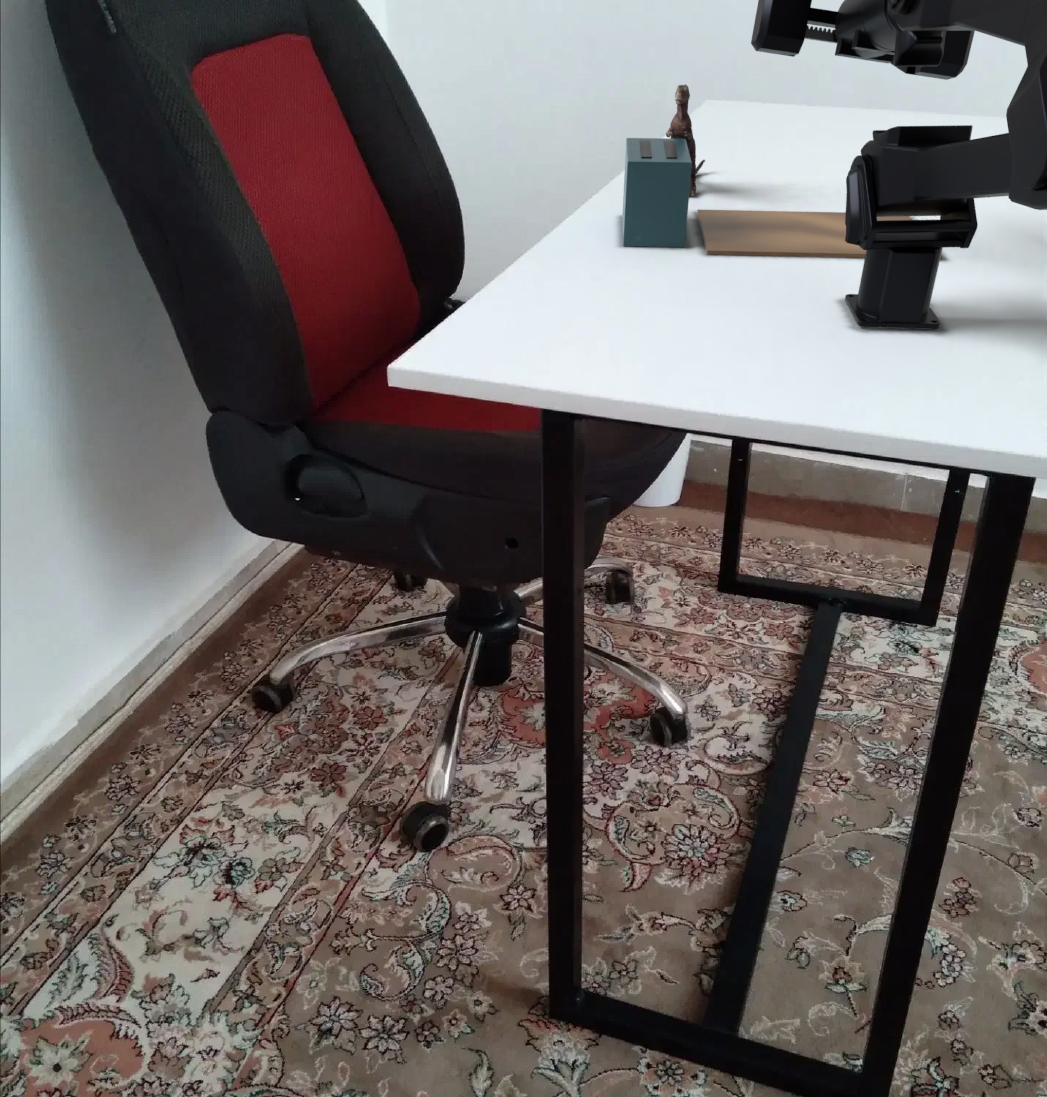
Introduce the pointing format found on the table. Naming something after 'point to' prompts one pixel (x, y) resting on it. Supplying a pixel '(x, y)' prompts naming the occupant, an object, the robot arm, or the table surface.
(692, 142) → the dinosaur model
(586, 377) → the table surface
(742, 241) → the mat
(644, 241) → the toaster
